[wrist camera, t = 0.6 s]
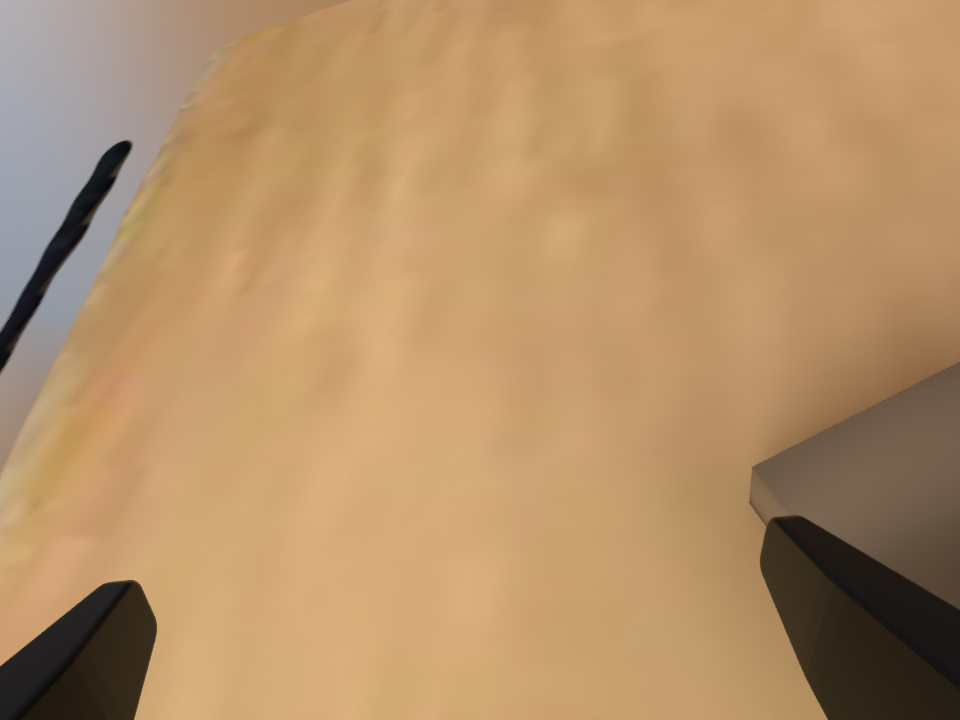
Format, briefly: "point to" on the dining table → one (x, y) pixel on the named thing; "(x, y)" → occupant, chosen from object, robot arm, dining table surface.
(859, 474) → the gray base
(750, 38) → the dining table surface
